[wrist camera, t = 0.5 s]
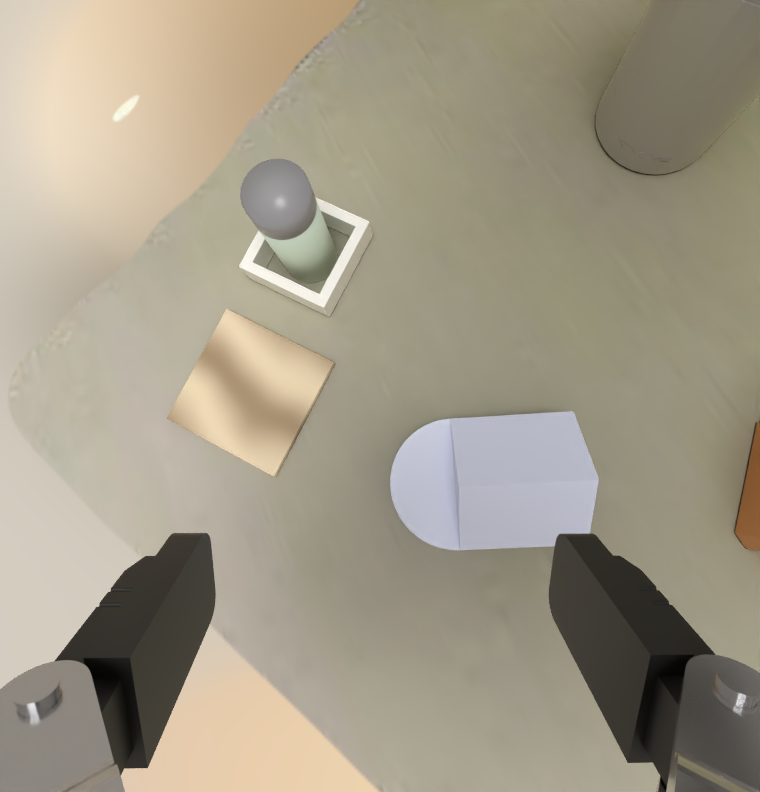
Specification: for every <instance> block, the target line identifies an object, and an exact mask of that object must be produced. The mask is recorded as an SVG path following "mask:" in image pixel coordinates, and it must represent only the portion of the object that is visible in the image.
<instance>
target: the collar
mask: <svg viewBox="0 0 760 792" xmlns="http://www.w3.org/2000/svg"><path fill="white" fill-rule="evenodd" d="M315 198H316V197H315ZM316 200H317V203H318V205H319V208H320V210H321V213H322V215H323V218H324V220H325V223H326V225H327V226H328V227H330V228H333V229H335V230H337V231H339V232H341V233H344V234H346V235H348V236H350V238H349V240H348V242H347V244H346V245H345V247H344V249H343V251H342V253H341V255H340V257H339V259H338V260H337V262H336V264H335V266H334V268H333V270H332V272H331V274H330V275H329V277H328V279H327V281H326V283H325V285H324V287H323V289H322V290H321V292H320V294H318V293H316V292H314V291H311V290H309V289H307V288H305V287H303V286H301V285H299V284H297V283H295V282H293V281H291V280H289V279H287V278H284V277H282V276H280V275H278V274H276V273H274V272H272V271H270V270H268V269H266V267H267V265H268V263H269V262H270V260H271V258H272V256H273V254H274V251H273V249H272V248H271V247H270V245H269V244H268V242H267V241H266V240H265V238H264V237H263V235H262V234H261V233H260V231H258V233H257V234H256V236H255V238H254V240H253V242H252V243H251V245H250V247H249V249H248V251H247V253H246V254H245V256H244V258H243V260H242V262H241V263H240V265H239V268H240V269H241V270H242V271H243V272H244V273H245V274H246V275H247V276H248V277H249V278H250V279H252V280H254V281H256V282H258V283H260V284H262V285H264V286H266V287H269V288H271V289H273V290H275V291H277V292H279V293H281V294H283V295H285V296H287V297H289V298H291V299H293V300H295V301H297V302H299V303H301V304H304V305H306V306H308V307H310V308H312V309H314V310H316V311H318V312H320V313H322V314H324V315H326V316H328V317H330V316H331V314H332V312H333V310H334V308H335V306H336V305H337V303H338V301H339V299H340V297H341V295H342V293H343V291H344V289H345V288H346V286H347V284H348V282H349V280H350V278H351V276H352V274H353V272H354V271H355V269H356V267H357V265H358V263H359V261H360V259H361V257H362V255H363V254H364V252H365V250H366V248H367V246H368V244H369V242H370V240H371V238H372V237H373V236H372V231H371V226H370V222H369V221H367V220H365V219H362V218H360V217H358V216H356V215H354V214H351V213H349V212H347V211H345V210H342V209H340V208H338V207H336V206H334V205H331V204H329V203H327V202H325V201H323V200H320V199H318V198H316Z"/></svg>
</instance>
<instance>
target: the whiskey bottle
mask: <svg viewBox="0 0 760 792" xmlns="http://www.w3.org/2000/svg"><path fill="white" fill-rule="evenodd" d="M735 534H736V535H737V537H738V538H739V539H740V541H741V542H742V544H743V545H744V547H745V548H746V549H750V550H753V551H757V552H760V422H758V423H757V425H756V430H755V435H754V440H753V445H752V450H751V455H750V460H749V465H748V470H747V475H746V480H745V485H744V490H743V495H742V500H741V505H740V510H739V515H738V520H737V525H736V529H735Z"/></svg>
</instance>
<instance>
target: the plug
mask: <svg viewBox="0 0 760 792" xmlns="http://www.w3.org/2000/svg"><path fill="white" fill-rule="evenodd" d="M240 197H241V203H242V206H243V208H244V210H245V212H246V213H247V214H248V216H249V217H250V219H251V220H252V221H253V223H254V224H255V226H256V227H257V228H258V230H259V231H260V233H261V234H262V235H263V237H264V238H265V240H266V241H267V242H268V244H269V245H270V247H271V248H272V249H273V251H274V252H275V254H276V255H277V256H278V258H279V259H280V261H281V262H282V263H283V265H284V266H285V268H286V269H287V270H288V272H289V273H290V275H291V276H292V277H294V278H295V279H296V280H298V281H300V282H304V283H316V282H319V281H322V280H324V279H325V278H327V277H328V276H329V275H330V274H331V272H332V270H333V268H334V266H335V264H336V262H337V250H336V247H335V245H334V242H333V240H332V237H331V235H330V233H329V230H328V228H327V225H326V223H325V220H324V218H323V215H322V213H321V210H320V208H319V205H318V203H317V200H316V198H315V195H314V193H313V190H312V188H311V185H310V183H309V180H308V178H307V176H306V174H305V172H304V171H303V170H302V169H301V168H300V167H299V166H298V165H297V164H295V163H293V162H291V161H288V160H285V159H271V160H267V161H264V162H262V163H260V164H258V165H256V166H255V167H254V168H253V169H252V170H250V172H249V173H248V174H247V175H246V177H245V179H244V181H243V183H242V186H241V193H240Z"/></svg>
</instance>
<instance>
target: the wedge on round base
mask: <svg viewBox="0 0 760 792" xmlns="http://www.w3.org/2000/svg"><path fill="white" fill-rule="evenodd" d="M598 483H599V478H598V475H597V473H596V470H595V467H594V465H593V462H592V459H591V457H590V454H589V451H588V449H587V446H586V443H585V441H584V438H583V435H582V433H581V430H580V427H579V424H578V422H577V419H576V416H575V414H574V411H567V412H551V413H534V414H518V415H502V416H485V417H469V418H453V419H444V420H439V421H435V422H432V423H430V424H427V425H425V426H423V427H422V428H420V429H418V430H417V431H416V432H414V433H413V434H412V435H411V436H410V437H409V438H408V439H407V440H406V441H405V442H404V443H403V445H402V446H401V448H400V449H399V451H398V453H397V455H396V457H395V460H394V462H393V465H392V470H391V477H390V490H391V496H392V501H393V503H394V506H395V509H396V511H397V513H398V515H399V517H400V519H401V520H402V522H403V523H404V524H405V526H406V527H407V528H408V529H409V530H410V531H411V532H412V533H413V534H414V535H416V536H417V537H418V538H420V539H421V540H423V541H424V542H426V543H428V544H430V545H433V546H436V547H439V548H442V549H448V550H478V549H502V548H526V547H550V546H555V542H556V538H557V536H558V535H559V534H582V533H590V529H591V523H592V518H593V512H594V506H595V500H596V494H597V488H598Z"/></svg>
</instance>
